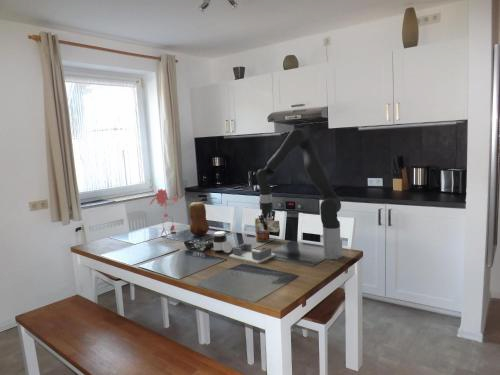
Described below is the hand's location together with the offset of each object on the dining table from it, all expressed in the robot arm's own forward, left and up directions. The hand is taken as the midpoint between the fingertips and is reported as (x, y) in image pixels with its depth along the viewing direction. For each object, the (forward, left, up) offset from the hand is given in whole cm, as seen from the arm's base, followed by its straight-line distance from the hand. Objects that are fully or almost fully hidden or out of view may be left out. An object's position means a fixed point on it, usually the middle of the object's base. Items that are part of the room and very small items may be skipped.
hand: (268, 228), depth 217 cm
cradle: (0, +16, -13) cm, 20 cm away
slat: (0, 0, -1) cm, 1 cm away
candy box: (+15, -12, -13) cm, 23 cm away
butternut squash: (+64, +1, -13) cm, 65 cm away
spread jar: (+22, +18, -13) cm, 31 cm away
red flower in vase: (+93, +11, -13) cm, 95 cm away
